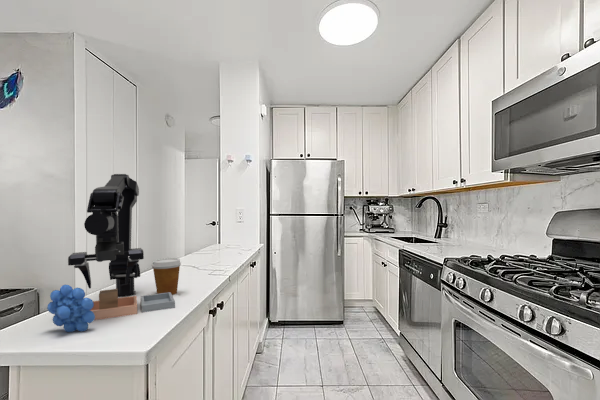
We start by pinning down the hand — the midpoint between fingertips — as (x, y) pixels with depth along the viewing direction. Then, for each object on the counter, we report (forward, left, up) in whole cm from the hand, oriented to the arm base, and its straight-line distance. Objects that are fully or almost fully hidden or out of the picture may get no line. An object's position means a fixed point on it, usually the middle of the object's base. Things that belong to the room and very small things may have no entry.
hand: (108, 286), depth 102 cm
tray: (-1, +13, -8) cm, 15 cm away
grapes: (+13, -8, -8) cm, 17 cm away
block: (0, 0, -8) cm, 8 cm away
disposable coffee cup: (-14, +17, -8) cm, 24 cm away
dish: (0, 0, -8) cm, 8 cm away
